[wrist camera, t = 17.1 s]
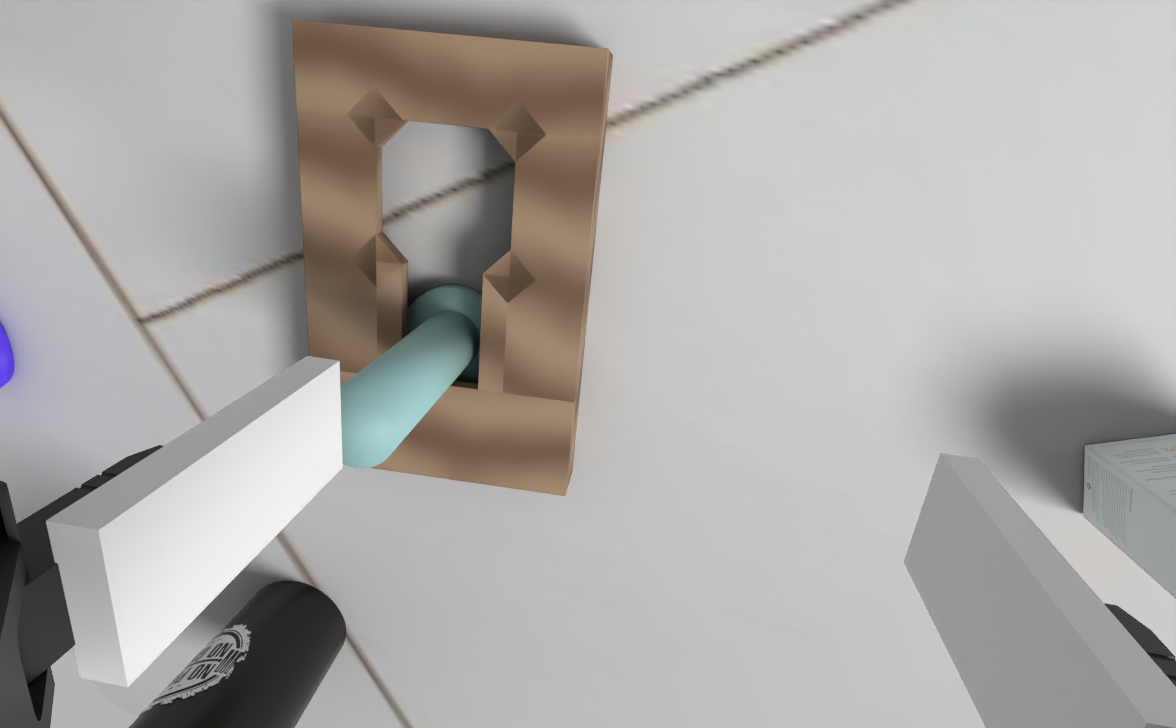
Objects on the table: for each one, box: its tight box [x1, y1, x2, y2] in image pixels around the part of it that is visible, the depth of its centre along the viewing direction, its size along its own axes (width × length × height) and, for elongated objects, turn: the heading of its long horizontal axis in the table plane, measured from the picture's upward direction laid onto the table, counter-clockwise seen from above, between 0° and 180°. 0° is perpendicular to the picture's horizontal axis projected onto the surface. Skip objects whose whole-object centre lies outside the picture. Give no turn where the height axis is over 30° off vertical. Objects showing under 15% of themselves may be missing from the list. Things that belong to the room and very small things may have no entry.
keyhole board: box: [292, 19, 613, 496], centre depth 43 cm, size 28×18×3 cm, turn 175°
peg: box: [340, 284, 482, 468], centre depth 39 cm, size 7×7×16 cm
